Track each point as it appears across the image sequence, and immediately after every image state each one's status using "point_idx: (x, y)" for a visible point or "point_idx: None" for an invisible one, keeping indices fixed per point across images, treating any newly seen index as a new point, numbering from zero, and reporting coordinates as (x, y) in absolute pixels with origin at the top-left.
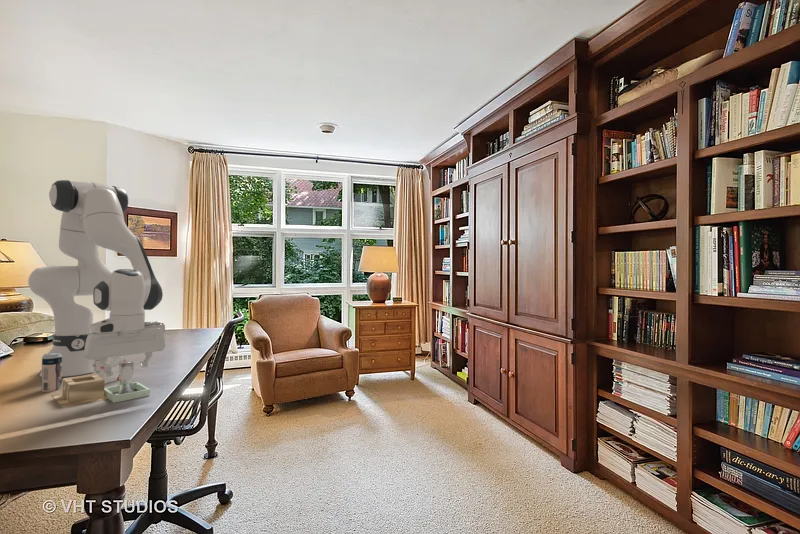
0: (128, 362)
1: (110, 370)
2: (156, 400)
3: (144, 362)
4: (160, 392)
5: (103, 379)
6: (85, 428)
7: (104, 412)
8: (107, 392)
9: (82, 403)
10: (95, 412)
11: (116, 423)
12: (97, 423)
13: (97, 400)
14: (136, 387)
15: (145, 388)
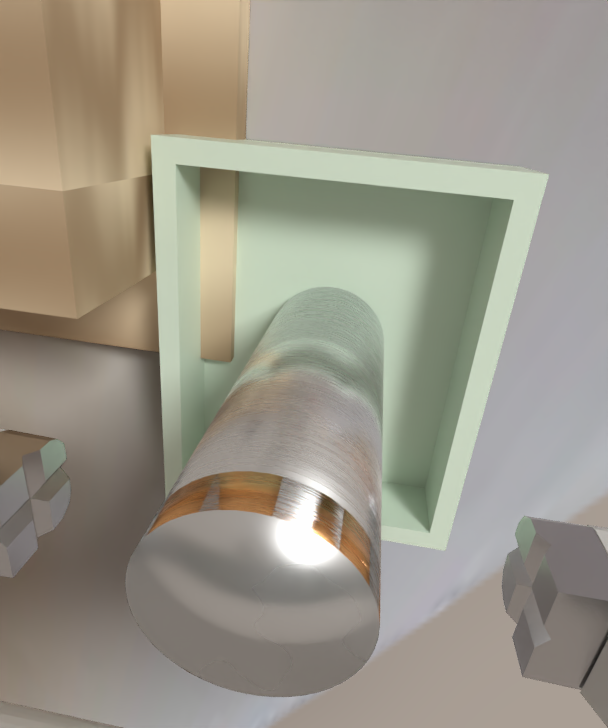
0: (274, 634)
1: (37, 528)
2: (443, 557)
3: (552, 678)
4: (605, 403)
5: (68, 286)
6: (26, 646)
7: (126, 522)
8: (162, 330)
9: (7, 320)
10: (85, 484)
11: (138, 688)
12: (73, 633)
13: (106, 327)
14: (496, 213)
15: (438, 498)
